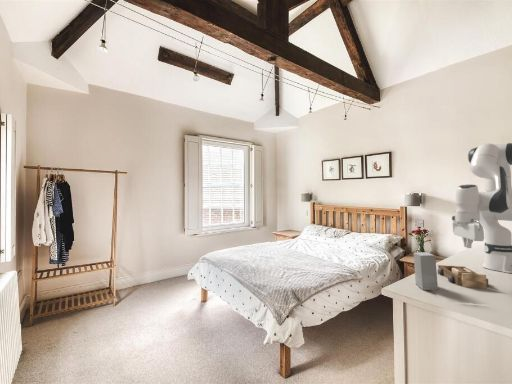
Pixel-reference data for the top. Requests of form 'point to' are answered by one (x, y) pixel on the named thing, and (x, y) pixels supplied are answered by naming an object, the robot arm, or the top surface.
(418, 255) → the skincare box
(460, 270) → the block
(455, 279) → the cart bed
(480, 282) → the tailgate
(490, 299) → the top surface
